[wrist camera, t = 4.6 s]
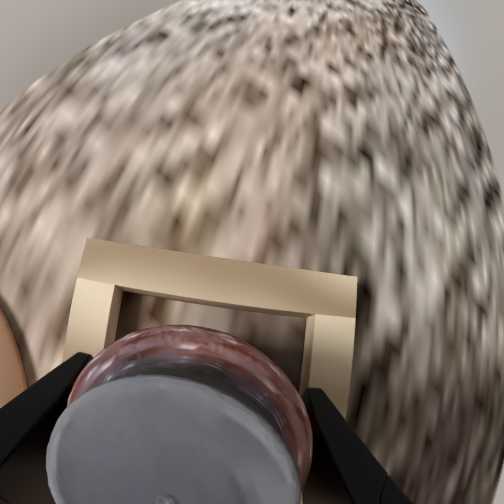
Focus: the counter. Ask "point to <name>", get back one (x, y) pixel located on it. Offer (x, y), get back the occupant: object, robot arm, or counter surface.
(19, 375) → the terracotta pad
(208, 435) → the supplement bottle
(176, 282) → the birch collar
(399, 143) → the counter surface
